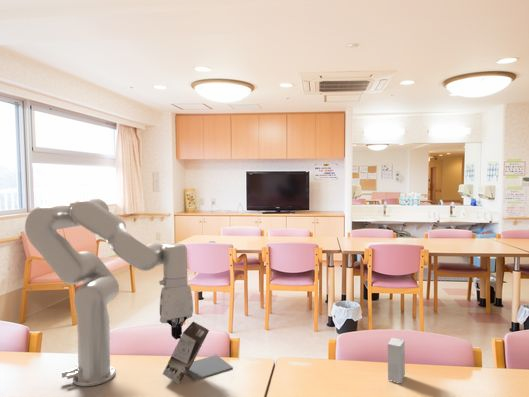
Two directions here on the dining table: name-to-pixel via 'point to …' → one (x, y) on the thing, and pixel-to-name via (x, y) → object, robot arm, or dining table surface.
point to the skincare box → (396, 360)
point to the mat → (208, 367)
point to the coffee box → (185, 352)
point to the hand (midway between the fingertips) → (176, 337)
